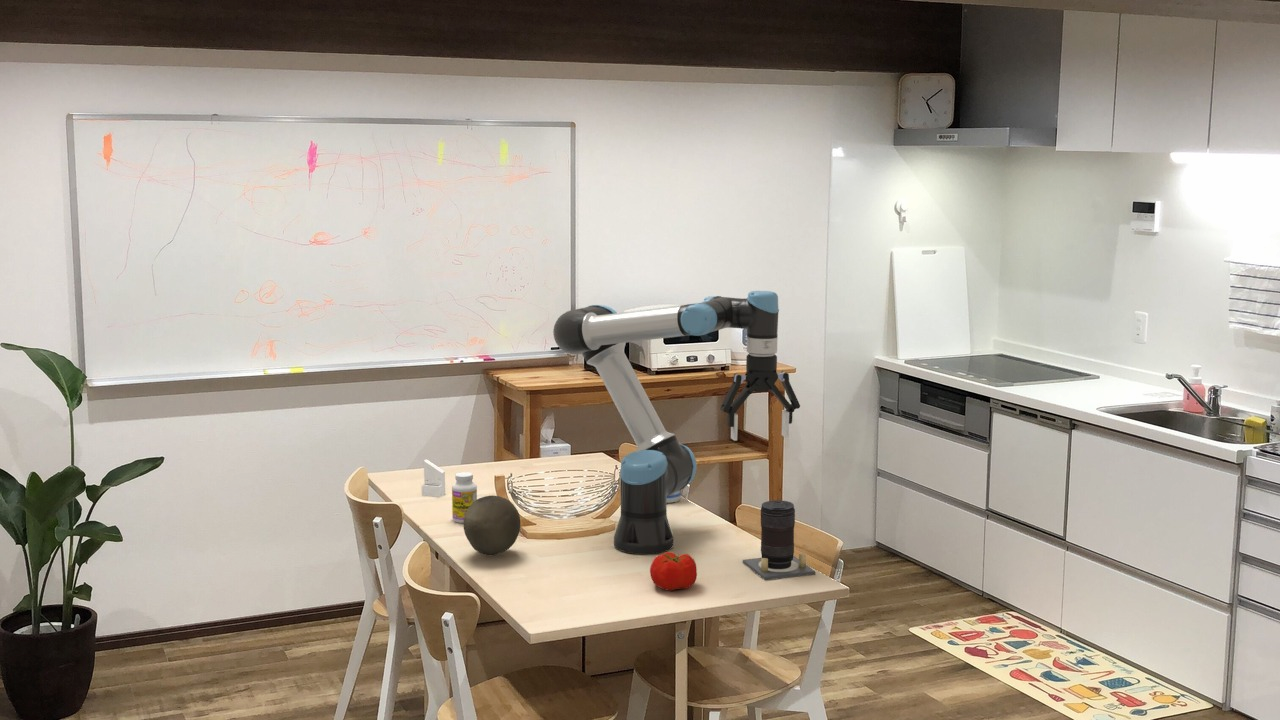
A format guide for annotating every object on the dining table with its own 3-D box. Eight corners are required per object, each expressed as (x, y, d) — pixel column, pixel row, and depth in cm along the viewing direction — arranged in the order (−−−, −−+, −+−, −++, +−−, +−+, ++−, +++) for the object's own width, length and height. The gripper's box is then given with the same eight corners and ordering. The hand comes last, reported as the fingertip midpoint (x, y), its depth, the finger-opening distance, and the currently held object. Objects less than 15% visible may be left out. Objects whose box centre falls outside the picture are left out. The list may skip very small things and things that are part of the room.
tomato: (641, 588, 281) (641, 557, 280) (669, 575, 290) (669, 545, 289) (678, 598, 275) (679, 566, 274) (706, 585, 283) (707, 554, 282)
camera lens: (757, 559, 298) (758, 500, 296) (790, 559, 299) (791, 499, 296) (762, 571, 290) (763, 509, 288) (796, 570, 291) (798, 508, 288)
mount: (764, 580, 287) (764, 564, 286) (742, 562, 299) (742, 547, 298) (815, 574, 291) (815, 558, 290) (791, 557, 303) (791, 542, 302)
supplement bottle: (448, 522, 331) (447, 476, 329) (458, 515, 338) (456, 470, 336) (472, 524, 330) (471, 478, 328) (481, 517, 336) (480, 471, 334)
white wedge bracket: (413, 483, 362) (426, 459, 360) (441, 501, 360) (454, 478, 358) (408, 486, 359) (420, 462, 356) (435, 505, 357) (448, 481, 355)
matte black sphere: (458, 550, 308) (456, 492, 306) (513, 544, 313) (512, 487, 311) (470, 567, 295) (469, 507, 293) (527, 561, 300) (527, 501, 298)
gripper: (719, 358, 297) (717, 444, 300) (814, 354, 303) (811, 438, 307) (708, 353, 304) (707, 437, 307) (802, 349, 310) (800, 431, 314)
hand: (759, 438), depth 307 cm, fingers open, 13 cm apart
